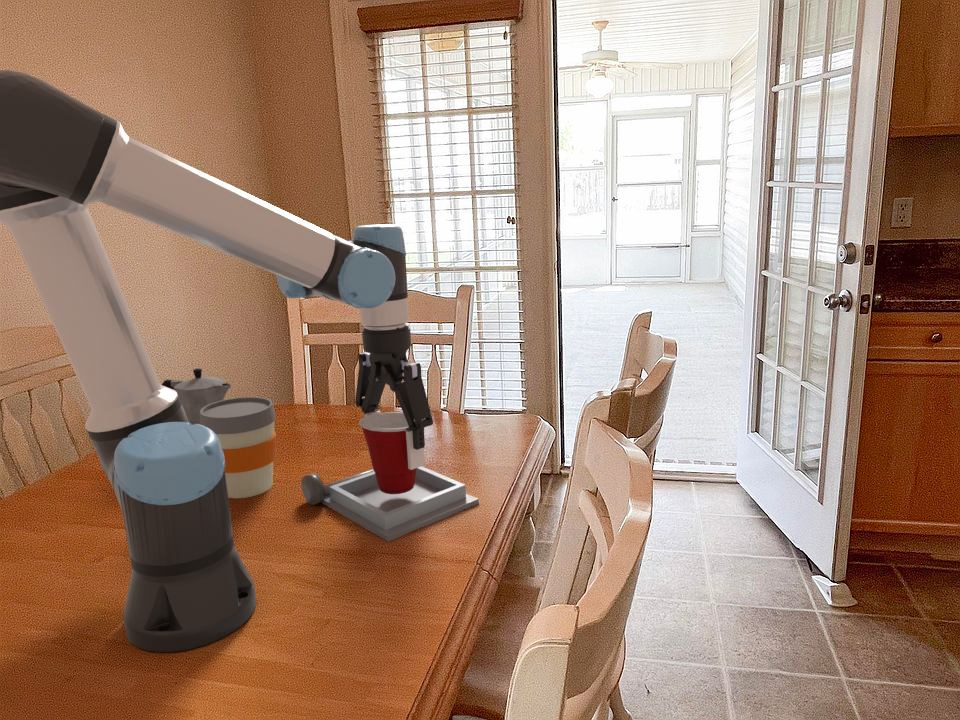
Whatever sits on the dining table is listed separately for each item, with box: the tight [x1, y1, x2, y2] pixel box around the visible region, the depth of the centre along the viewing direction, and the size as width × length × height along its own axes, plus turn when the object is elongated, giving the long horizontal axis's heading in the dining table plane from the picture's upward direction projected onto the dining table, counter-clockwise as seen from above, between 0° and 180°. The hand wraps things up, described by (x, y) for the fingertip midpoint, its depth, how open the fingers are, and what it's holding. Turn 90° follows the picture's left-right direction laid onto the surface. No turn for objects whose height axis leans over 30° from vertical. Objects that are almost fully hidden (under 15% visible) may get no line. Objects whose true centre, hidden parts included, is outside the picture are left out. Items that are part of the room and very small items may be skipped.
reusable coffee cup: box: [200, 396, 277, 499], centre depth 125 cm, size 13×12×15 cm
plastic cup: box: [358, 411, 425, 494], centre depth 117 cm, size 11×11×12 cm
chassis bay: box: [300, 466, 480, 543], centre depth 119 cm, size 21×23×5 cm
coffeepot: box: [161, 368, 232, 425], centre depth 142 cm, size 15×9×18 cm, turn 79°
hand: (395, 457), depth 117 cm, fingers closed on plastic cup, 11 cm apart
